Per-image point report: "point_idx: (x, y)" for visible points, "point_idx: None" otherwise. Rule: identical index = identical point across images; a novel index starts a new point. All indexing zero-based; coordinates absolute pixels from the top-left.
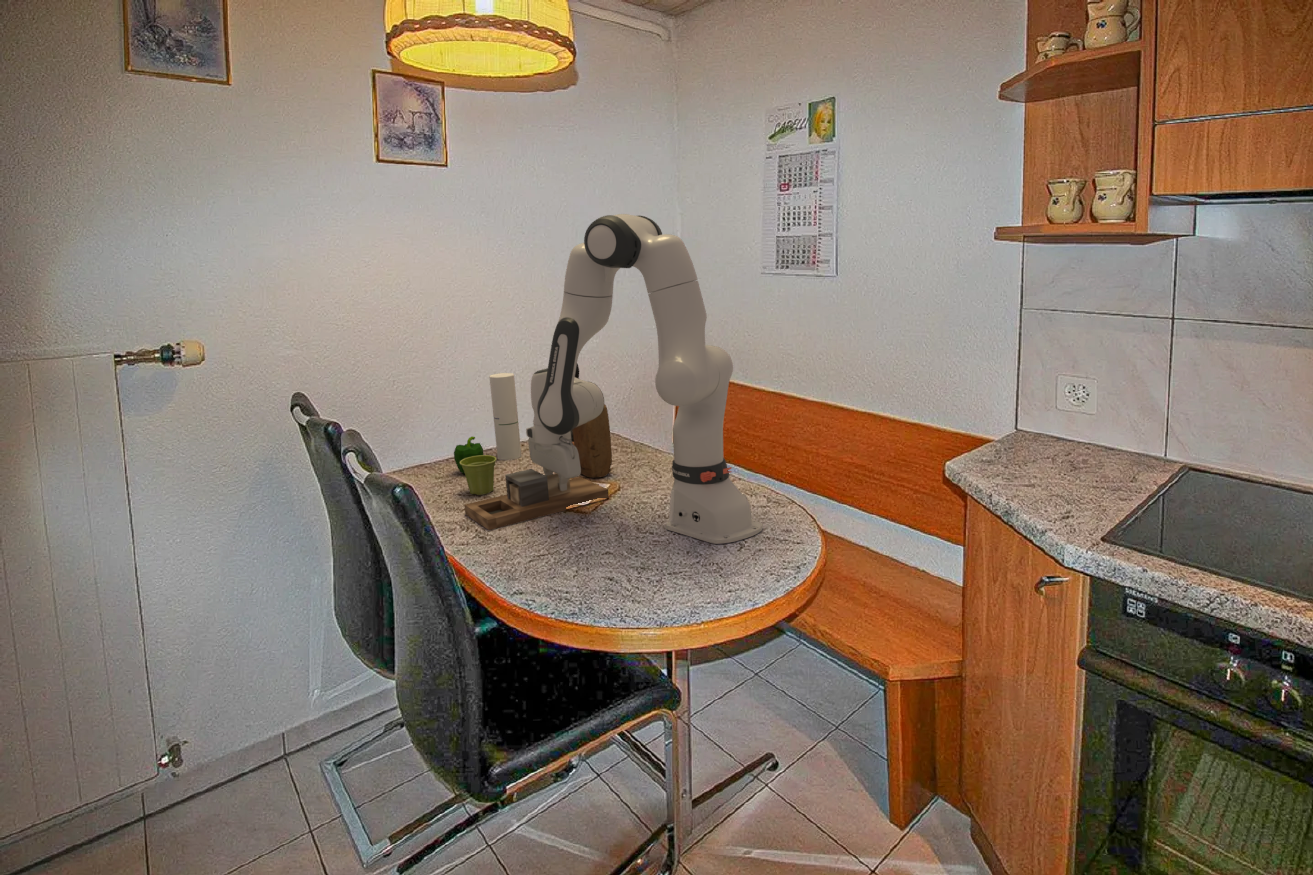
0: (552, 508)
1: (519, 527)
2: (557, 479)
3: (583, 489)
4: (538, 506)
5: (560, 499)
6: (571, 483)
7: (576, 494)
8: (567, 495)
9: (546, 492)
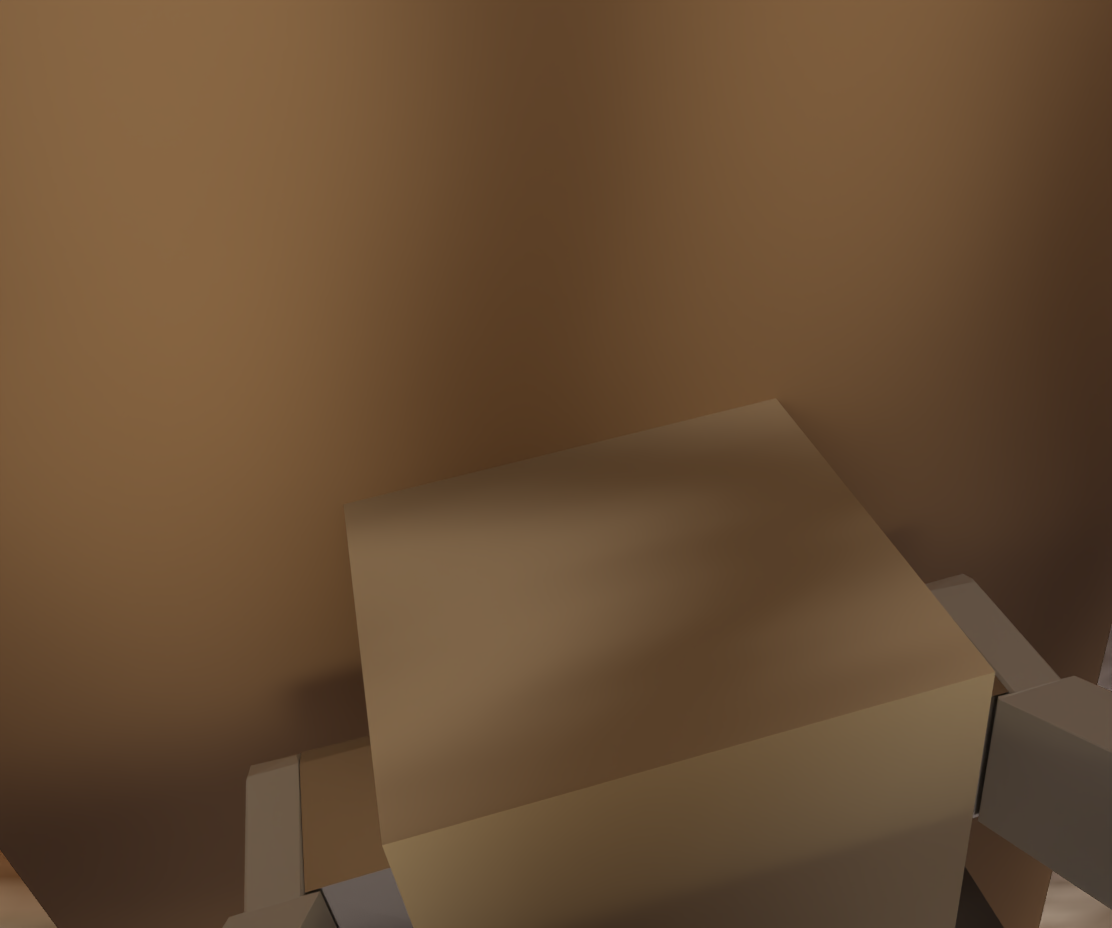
0: None
1: (1060, 921)
2: (951, 921)
3: (830, 50)
4: (1028, 891)
5: (1025, 636)
6: (56, 193)
7: (1027, 329)
8: (935, 500)
9: (981, 925)
